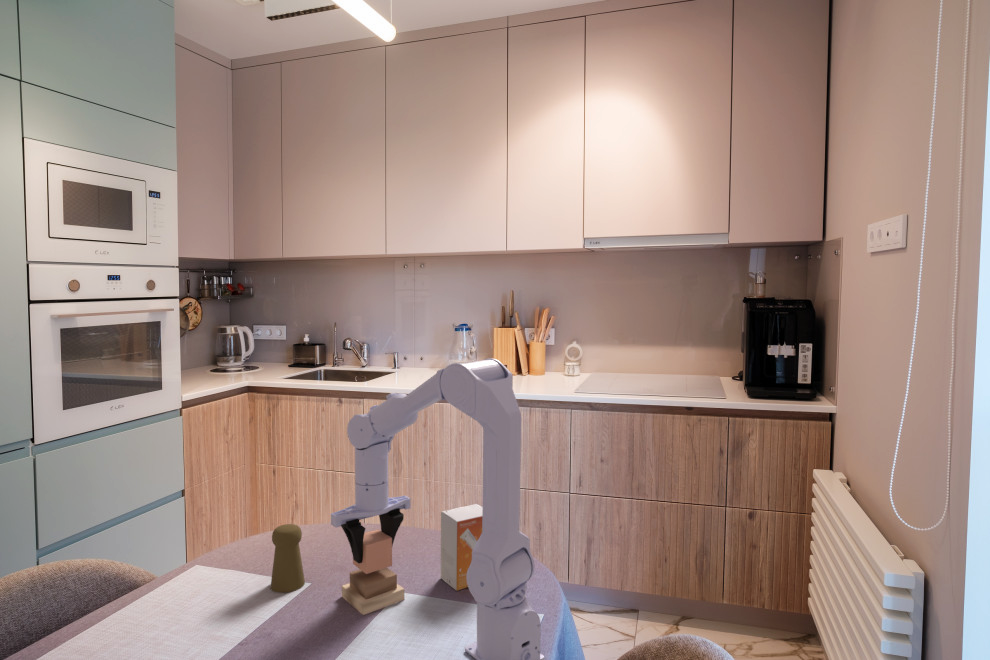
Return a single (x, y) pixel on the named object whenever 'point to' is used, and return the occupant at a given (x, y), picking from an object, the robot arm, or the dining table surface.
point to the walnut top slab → (373, 582)
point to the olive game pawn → (287, 559)
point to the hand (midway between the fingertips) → (372, 556)
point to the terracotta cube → (375, 552)
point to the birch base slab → (371, 599)
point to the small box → (459, 542)
